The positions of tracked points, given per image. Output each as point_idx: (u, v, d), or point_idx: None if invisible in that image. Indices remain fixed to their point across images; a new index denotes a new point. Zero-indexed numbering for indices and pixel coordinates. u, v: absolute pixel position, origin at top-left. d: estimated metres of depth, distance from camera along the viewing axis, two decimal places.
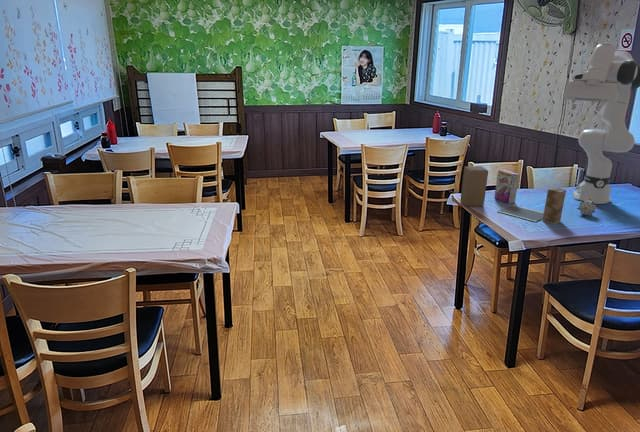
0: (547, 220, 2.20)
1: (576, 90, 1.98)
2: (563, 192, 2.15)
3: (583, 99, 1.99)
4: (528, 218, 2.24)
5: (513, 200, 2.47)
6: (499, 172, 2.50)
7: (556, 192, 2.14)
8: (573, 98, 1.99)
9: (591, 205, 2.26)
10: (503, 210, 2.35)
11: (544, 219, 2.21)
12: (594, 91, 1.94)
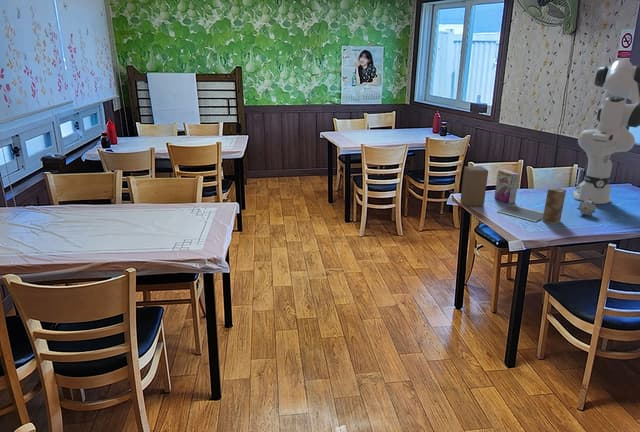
0: (547, 220, 2.20)
1: (604, 150, 1.99)
2: (563, 192, 2.15)
3: None
4: (528, 218, 2.24)
5: (513, 200, 2.47)
6: (499, 172, 2.50)
7: (556, 192, 2.14)
8: (600, 157, 2.01)
9: (591, 205, 2.26)
10: (503, 210, 2.35)
11: (544, 219, 2.21)
12: (610, 148, 2.04)
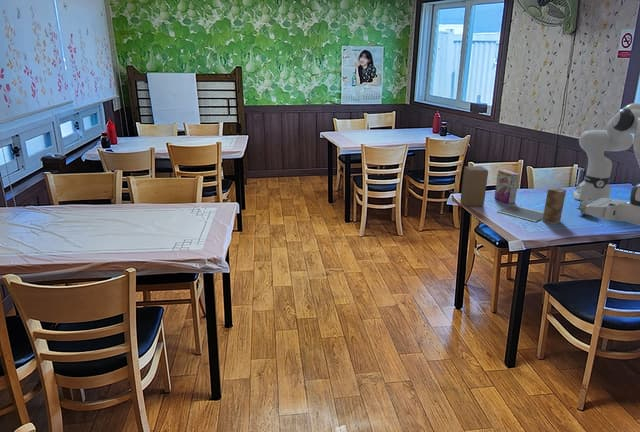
0: (547, 220, 2.20)
1: None
2: (563, 192, 2.14)
3: None
4: (528, 218, 2.24)
5: (513, 200, 2.47)
6: (499, 172, 2.50)
7: (556, 192, 2.14)
8: None
9: None
10: (503, 210, 2.35)
11: (544, 219, 2.21)
12: None
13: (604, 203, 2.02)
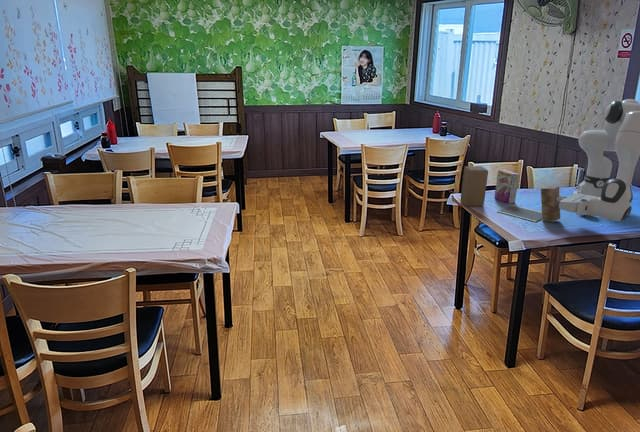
0: (547, 219, 2.20)
1: None
2: (556, 189, 2.17)
3: None
4: (528, 218, 2.24)
5: (513, 200, 2.47)
6: (499, 172, 2.50)
7: (549, 189, 2.16)
8: None
9: None
10: (503, 210, 2.35)
11: (544, 219, 2.21)
12: None
13: (577, 199, 2.11)
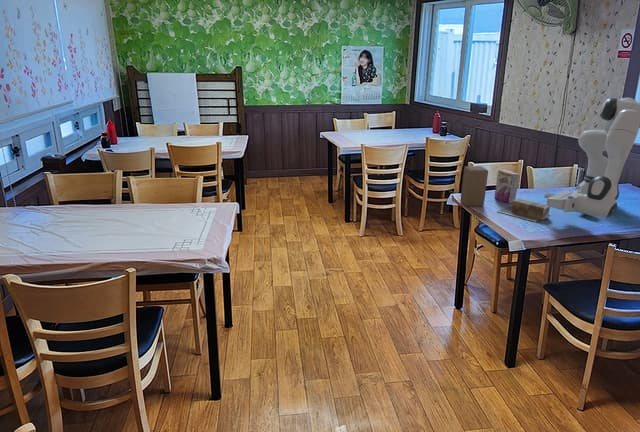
0: (541, 214, 2.22)
1: None
2: (517, 199, 2.32)
3: None
4: (528, 218, 2.24)
5: None
6: (499, 172, 2.50)
7: (513, 204, 2.31)
8: None
9: None
10: (503, 210, 2.35)
11: (541, 217, 2.22)
12: None
13: (565, 196, 2.15)
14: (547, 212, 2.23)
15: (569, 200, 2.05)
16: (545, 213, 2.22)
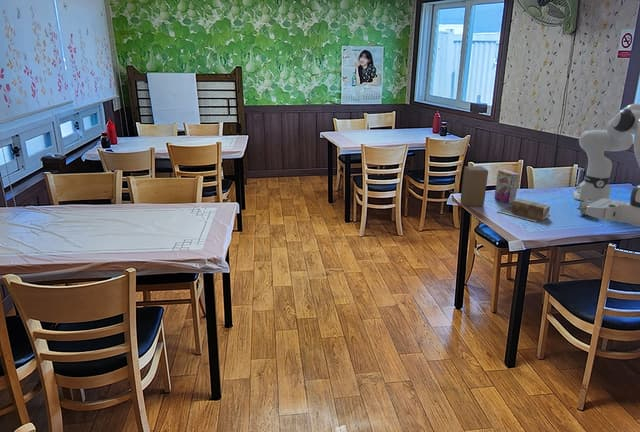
0: (541, 214, 2.22)
1: None
2: (517, 199, 2.32)
3: None
4: (528, 218, 2.24)
5: None
6: (499, 172, 2.50)
7: (513, 204, 2.31)
8: None
9: None
10: (503, 210, 2.35)
11: (541, 217, 2.22)
12: None
13: (604, 204, 2.03)
14: (547, 212, 2.23)
15: (610, 209, 1.93)
16: (545, 213, 2.22)
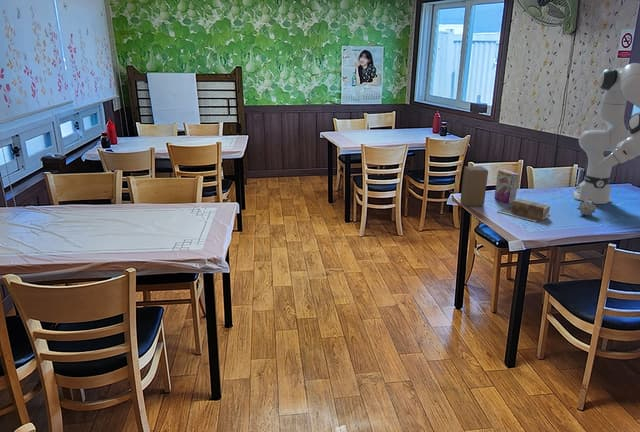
0: (541, 214, 2.22)
1: None
2: (517, 199, 2.32)
3: None
4: (528, 218, 2.24)
5: None
6: (499, 172, 2.50)
7: (513, 204, 2.31)
8: None
9: (591, 205, 2.26)
10: (503, 210, 2.35)
11: (541, 217, 2.22)
12: None
13: None
14: (547, 212, 2.23)
15: (616, 151, 1.96)
16: (545, 213, 2.22)
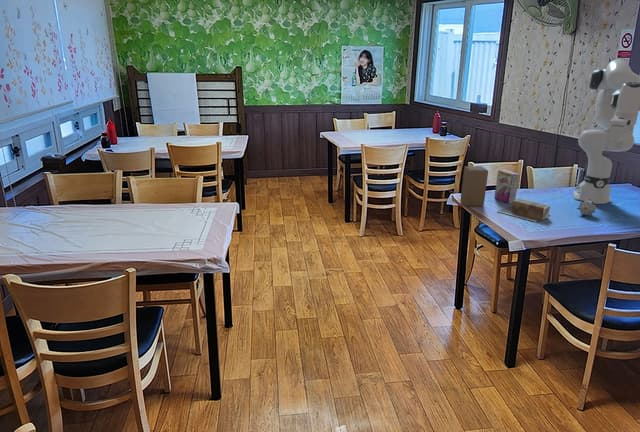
0: (541, 214, 2.22)
1: (622, 135, 2.03)
2: (517, 199, 2.32)
3: None
4: (528, 218, 2.24)
5: None
6: (499, 172, 2.50)
7: (513, 204, 2.31)
8: (621, 141, 2.07)
9: (591, 205, 2.26)
10: (503, 210, 2.35)
11: (541, 217, 2.22)
12: (627, 133, 2.07)
13: None
14: (547, 212, 2.23)
15: (612, 120, 2.02)
16: (545, 213, 2.22)
